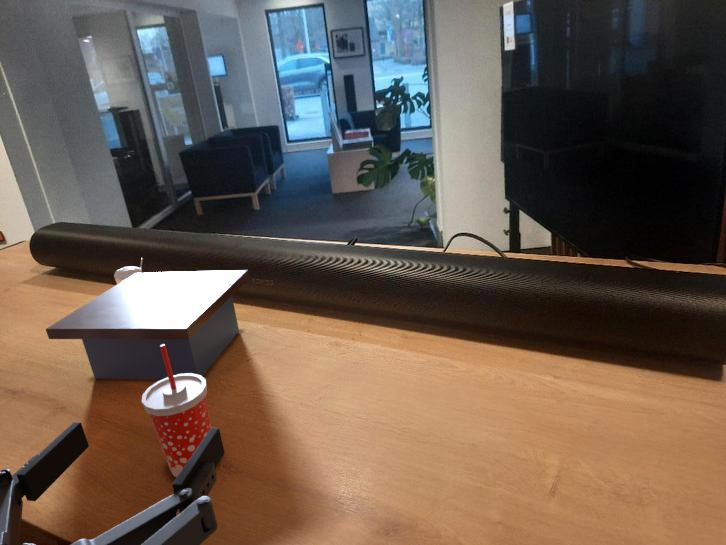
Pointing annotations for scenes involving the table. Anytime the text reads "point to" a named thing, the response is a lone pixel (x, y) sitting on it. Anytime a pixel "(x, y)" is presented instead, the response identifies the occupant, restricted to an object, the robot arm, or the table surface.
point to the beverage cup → (178, 414)
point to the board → (152, 306)
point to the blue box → (147, 357)
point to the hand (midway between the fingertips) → (148, 436)
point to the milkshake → (126, 272)
